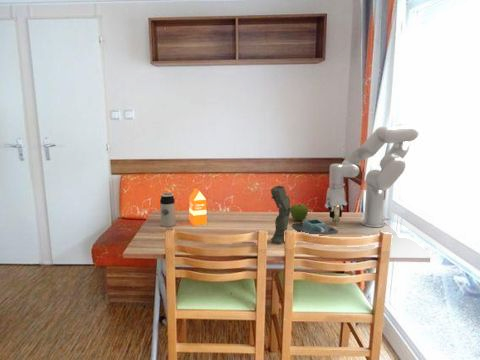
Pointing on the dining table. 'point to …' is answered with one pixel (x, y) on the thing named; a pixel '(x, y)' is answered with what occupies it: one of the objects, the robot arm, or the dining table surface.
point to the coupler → (336, 214)
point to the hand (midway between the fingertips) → (335, 216)
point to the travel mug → (167, 209)
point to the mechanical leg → (280, 213)
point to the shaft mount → (314, 227)
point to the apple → (299, 212)
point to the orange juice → (197, 208)
